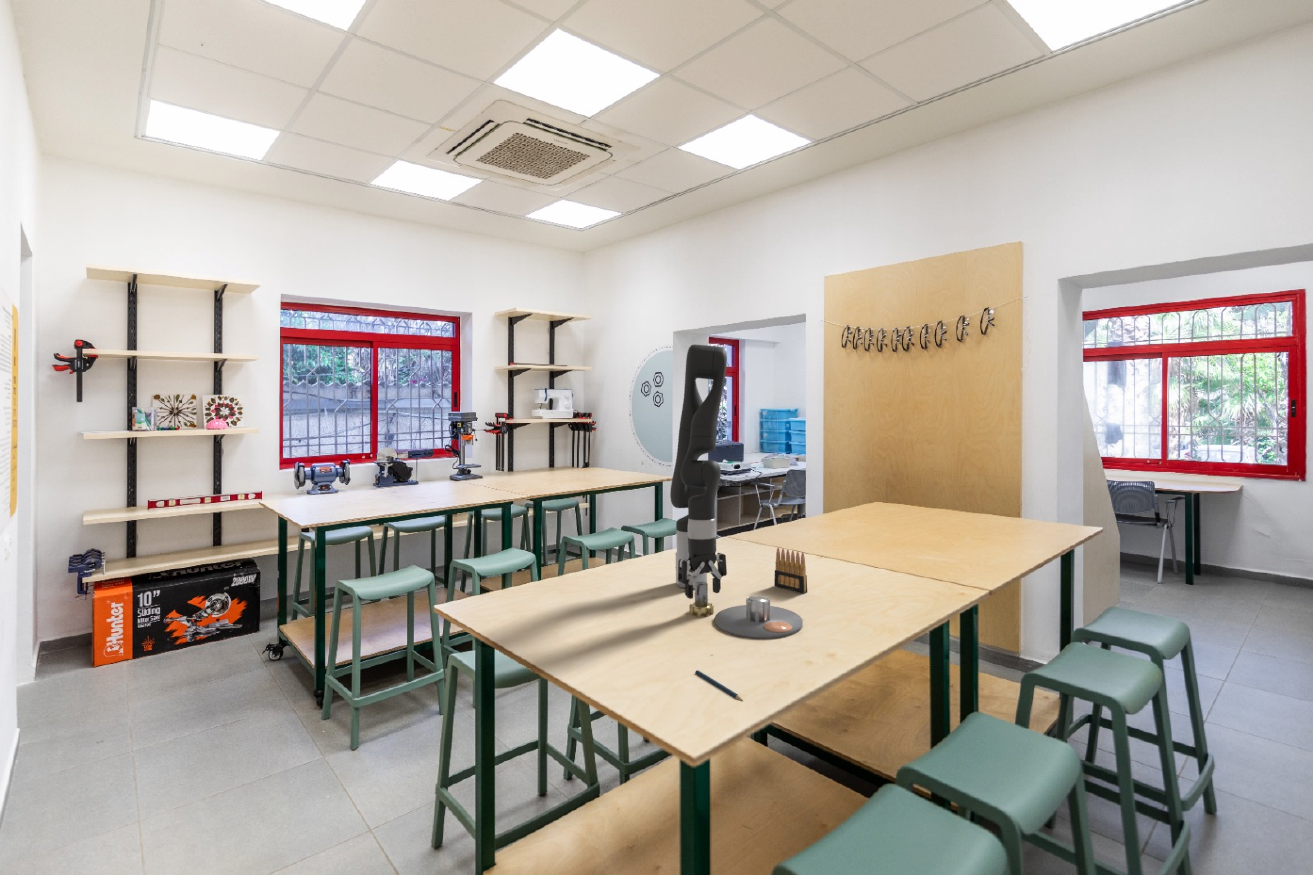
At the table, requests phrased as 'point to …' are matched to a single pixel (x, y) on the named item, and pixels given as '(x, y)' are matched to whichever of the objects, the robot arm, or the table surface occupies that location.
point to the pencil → (718, 685)
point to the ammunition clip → (790, 572)
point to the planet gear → (701, 601)
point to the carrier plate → (758, 620)
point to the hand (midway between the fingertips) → (703, 595)
